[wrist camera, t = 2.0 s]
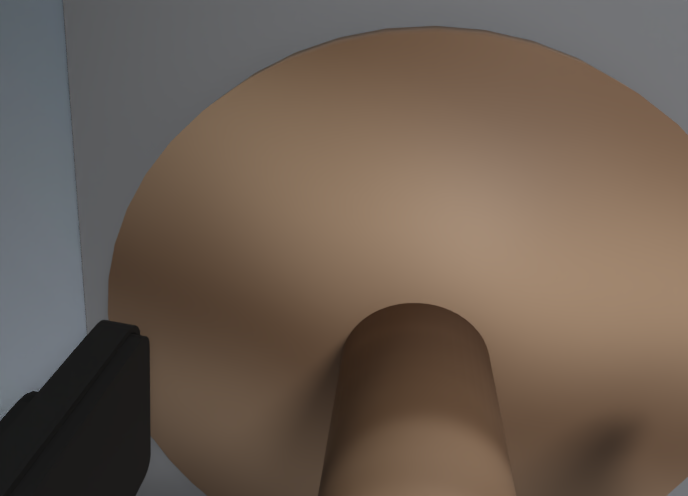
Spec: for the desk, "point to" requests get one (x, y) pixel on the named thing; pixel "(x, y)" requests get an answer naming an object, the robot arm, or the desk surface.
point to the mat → (272, 46)
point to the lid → (417, 277)
